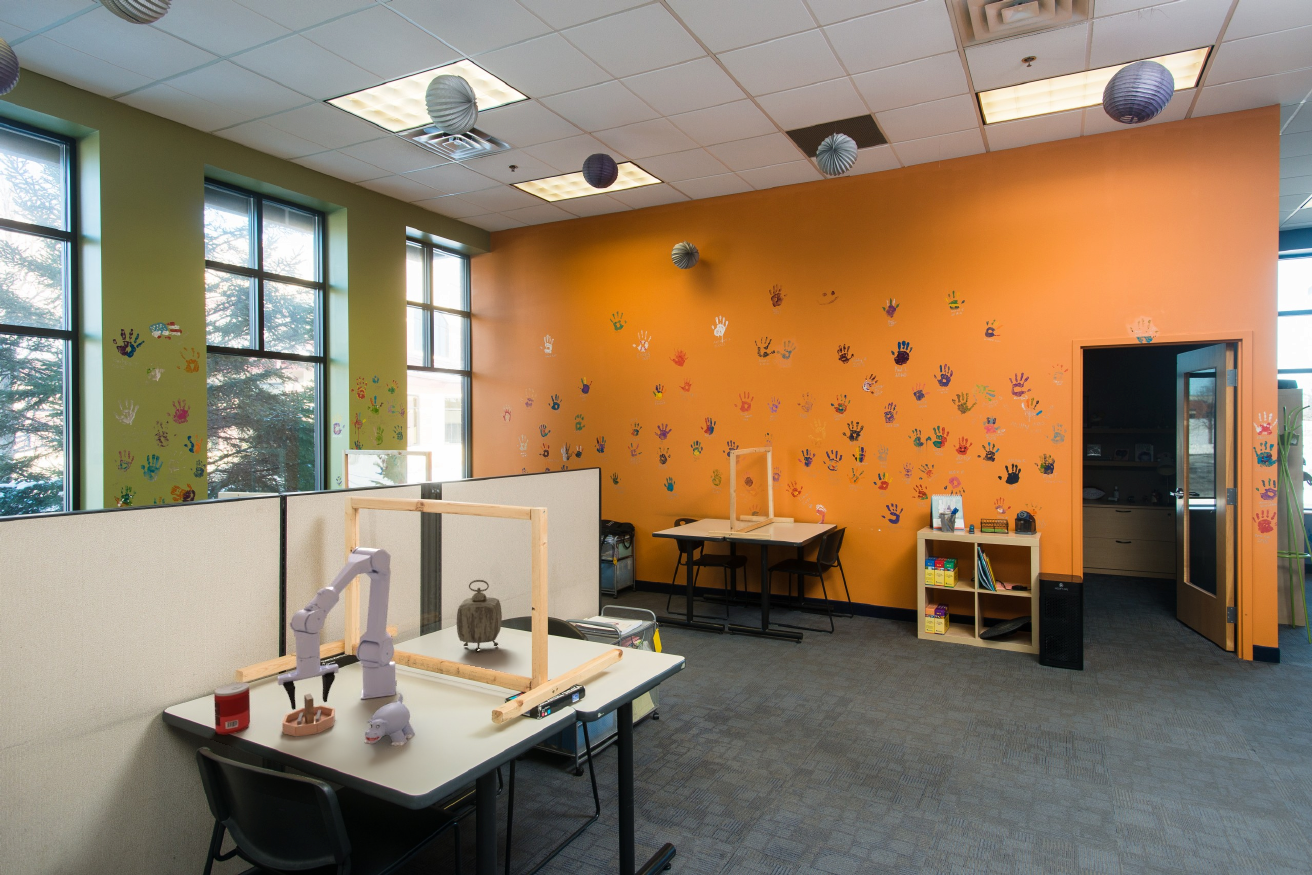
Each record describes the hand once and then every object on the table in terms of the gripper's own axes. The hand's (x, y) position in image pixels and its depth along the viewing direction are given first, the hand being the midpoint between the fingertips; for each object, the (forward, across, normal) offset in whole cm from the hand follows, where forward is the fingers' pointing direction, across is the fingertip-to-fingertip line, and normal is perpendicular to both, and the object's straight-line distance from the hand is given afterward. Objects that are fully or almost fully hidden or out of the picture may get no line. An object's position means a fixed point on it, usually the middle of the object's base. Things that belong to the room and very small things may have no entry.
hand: (309, 704), depth 186 cm
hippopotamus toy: (+6, -14, +22) cm, 27 cm away
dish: (+6, 0, 0) cm, 6 cm away
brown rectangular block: (+5, 0, 0) cm, 5 cm away
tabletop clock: (+6, -60, -29) cm, 67 cm away
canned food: (+6, +17, -10) cm, 21 cm away
